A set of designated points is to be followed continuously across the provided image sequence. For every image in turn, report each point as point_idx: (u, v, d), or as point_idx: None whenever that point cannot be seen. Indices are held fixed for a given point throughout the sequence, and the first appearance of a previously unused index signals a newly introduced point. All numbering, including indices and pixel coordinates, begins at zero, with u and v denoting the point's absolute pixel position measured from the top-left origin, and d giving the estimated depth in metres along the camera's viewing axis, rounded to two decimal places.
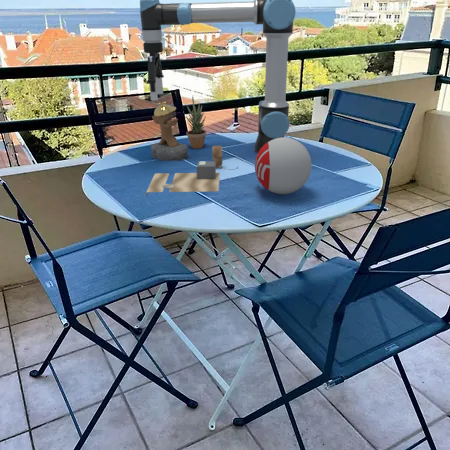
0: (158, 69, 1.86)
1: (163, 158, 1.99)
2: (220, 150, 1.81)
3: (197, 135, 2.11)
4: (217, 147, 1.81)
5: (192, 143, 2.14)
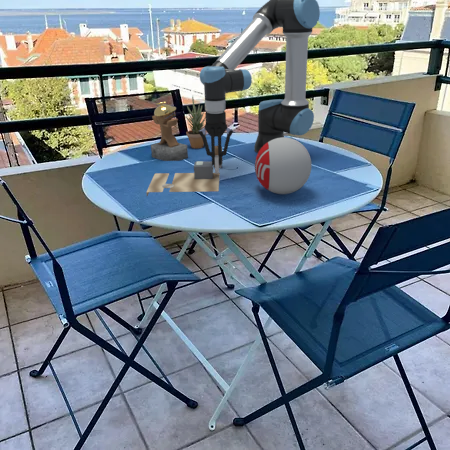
0: (218, 143, 1.69)
1: (163, 158, 1.99)
2: None
3: (197, 135, 2.11)
4: (217, 147, 1.81)
5: (192, 143, 2.14)
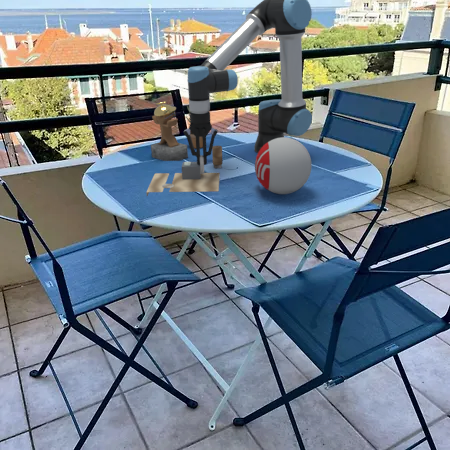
0: None
1: (163, 158, 1.99)
2: (220, 150, 1.81)
3: None
4: (217, 147, 1.81)
5: None
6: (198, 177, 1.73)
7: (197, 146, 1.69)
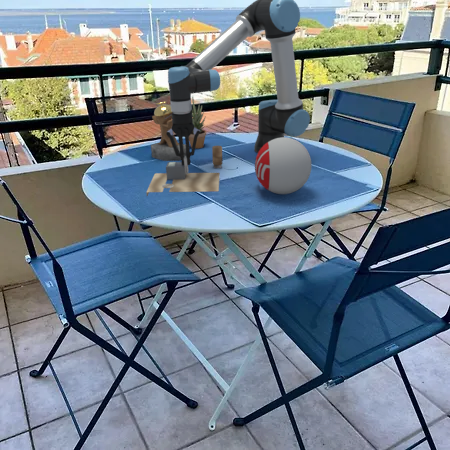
0: None
1: (163, 158, 1.99)
2: (220, 150, 1.81)
3: None
4: (217, 147, 1.81)
5: (192, 143, 2.14)
6: (183, 177, 1.73)
7: (180, 146, 1.69)
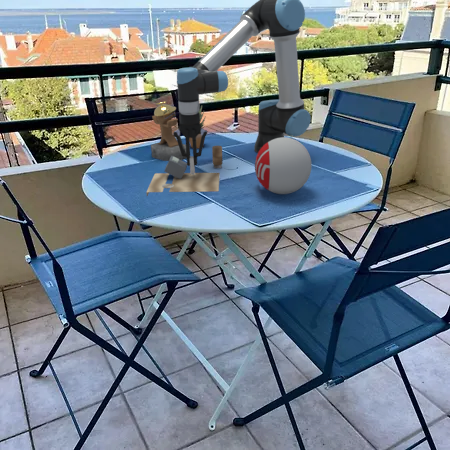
0: None
1: (163, 158, 1.99)
2: (220, 150, 1.81)
3: (197, 135, 2.11)
4: (217, 147, 1.81)
5: (192, 143, 2.14)
6: (179, 177, 1.73)
7: (187, 147, 1.70)
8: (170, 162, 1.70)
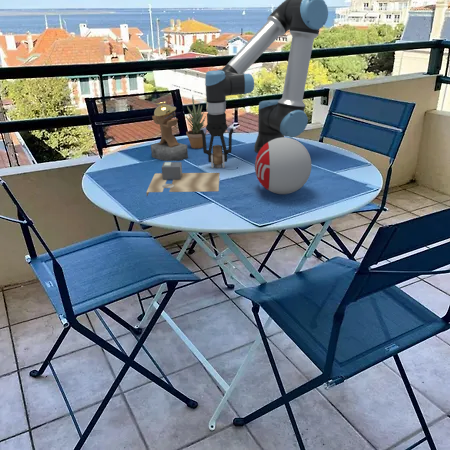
0: None
1: (163, 158, 1.99)
2: (220, 149, 1.81)
3: (197, 135, 2.11)
4: (217, 146, 1.81)
5: (192, 143, 2.14)
6: (178, 177, 1.73)
7: (210, 145, 1.80)
8: (163, 168, 1.71)
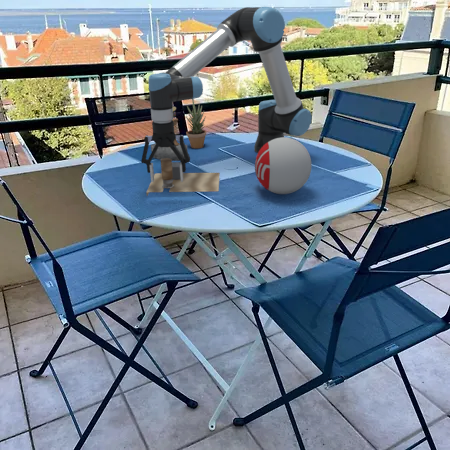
0: None
1: (163, 158, 1.99)
2: (169, 164, 1.62)
3: (197, 135, 2.11)
4: (166, 160, 1.62)
5: (192, 143, 2.14)
6: (178, 177, 1.73)
7: (151, 154, 1.61)
8: None
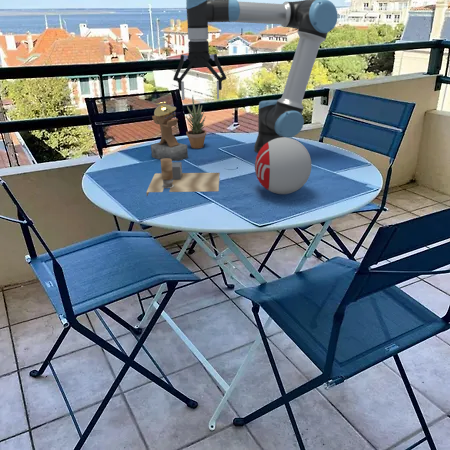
0: None
1: (163, 158, 1.99)
2: (169, 163, 1.62)
3: (197, 135, 2.11)
4: (166, 160, 1.62)
5: (192, 143, 2.14)
6: (178, 177, 1.73)
7: (184, 72, 1.70)
8: None
